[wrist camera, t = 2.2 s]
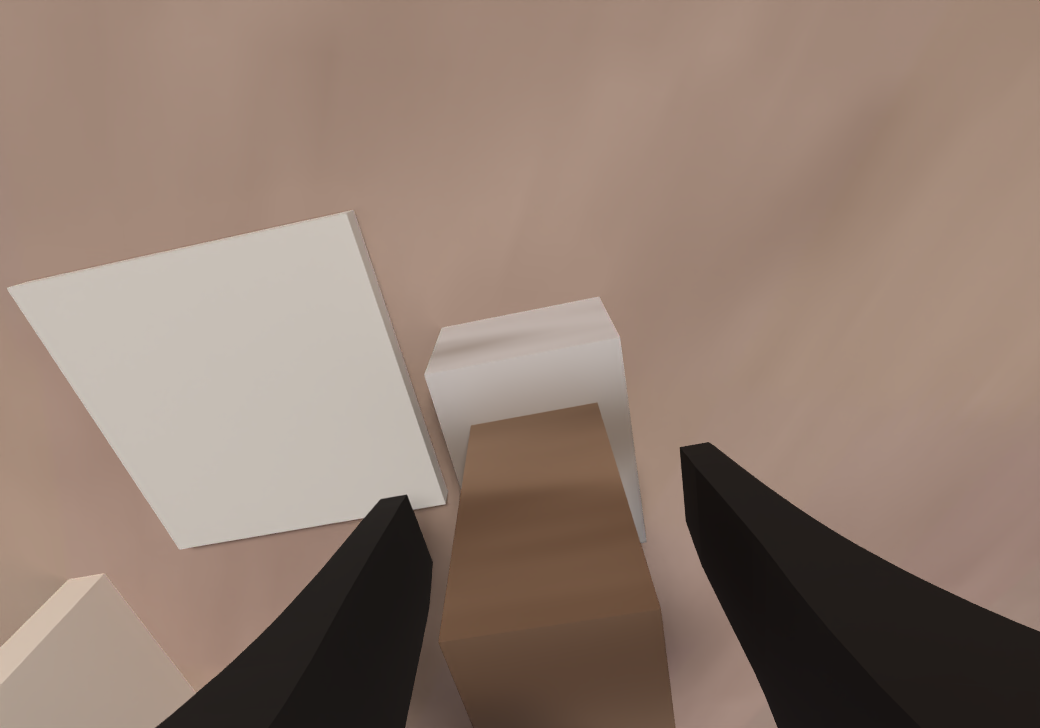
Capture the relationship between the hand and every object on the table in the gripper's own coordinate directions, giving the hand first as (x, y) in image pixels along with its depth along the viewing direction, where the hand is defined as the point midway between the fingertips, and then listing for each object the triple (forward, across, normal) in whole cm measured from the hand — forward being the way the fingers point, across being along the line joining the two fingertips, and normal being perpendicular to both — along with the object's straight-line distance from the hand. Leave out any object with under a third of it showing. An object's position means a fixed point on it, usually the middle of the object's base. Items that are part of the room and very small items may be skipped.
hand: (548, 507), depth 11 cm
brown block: (+4, 0, 0) cm, 4 cm away
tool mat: (+4, +8, -2) cm, 9 cm away
